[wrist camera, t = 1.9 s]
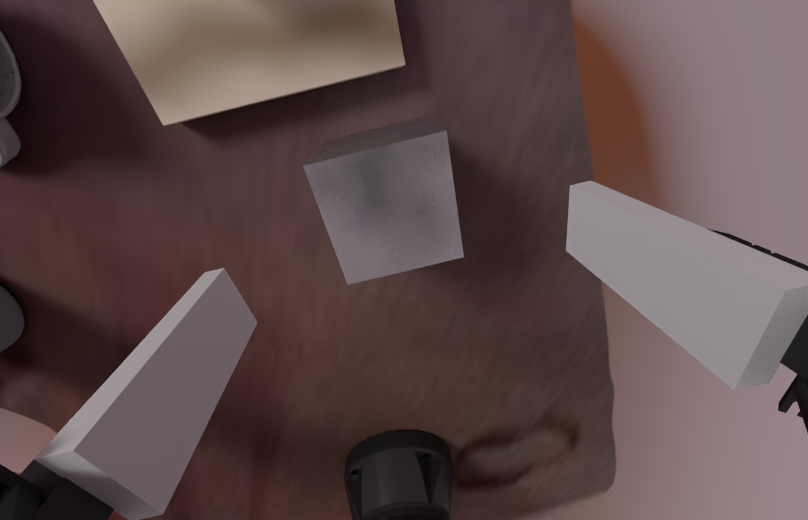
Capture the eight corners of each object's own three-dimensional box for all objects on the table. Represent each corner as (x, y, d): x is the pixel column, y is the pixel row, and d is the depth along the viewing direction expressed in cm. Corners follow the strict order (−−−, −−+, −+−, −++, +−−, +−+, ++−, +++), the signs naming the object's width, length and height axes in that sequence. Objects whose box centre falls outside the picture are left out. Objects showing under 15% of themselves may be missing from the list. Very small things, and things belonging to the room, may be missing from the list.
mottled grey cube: (435, 208, 26) (463, 257, 18) (354, 227, 26) (347, 284, 18) (420, 117, 23) (446, 130, 15) (326, 141, 23) (303, 165, 15)
